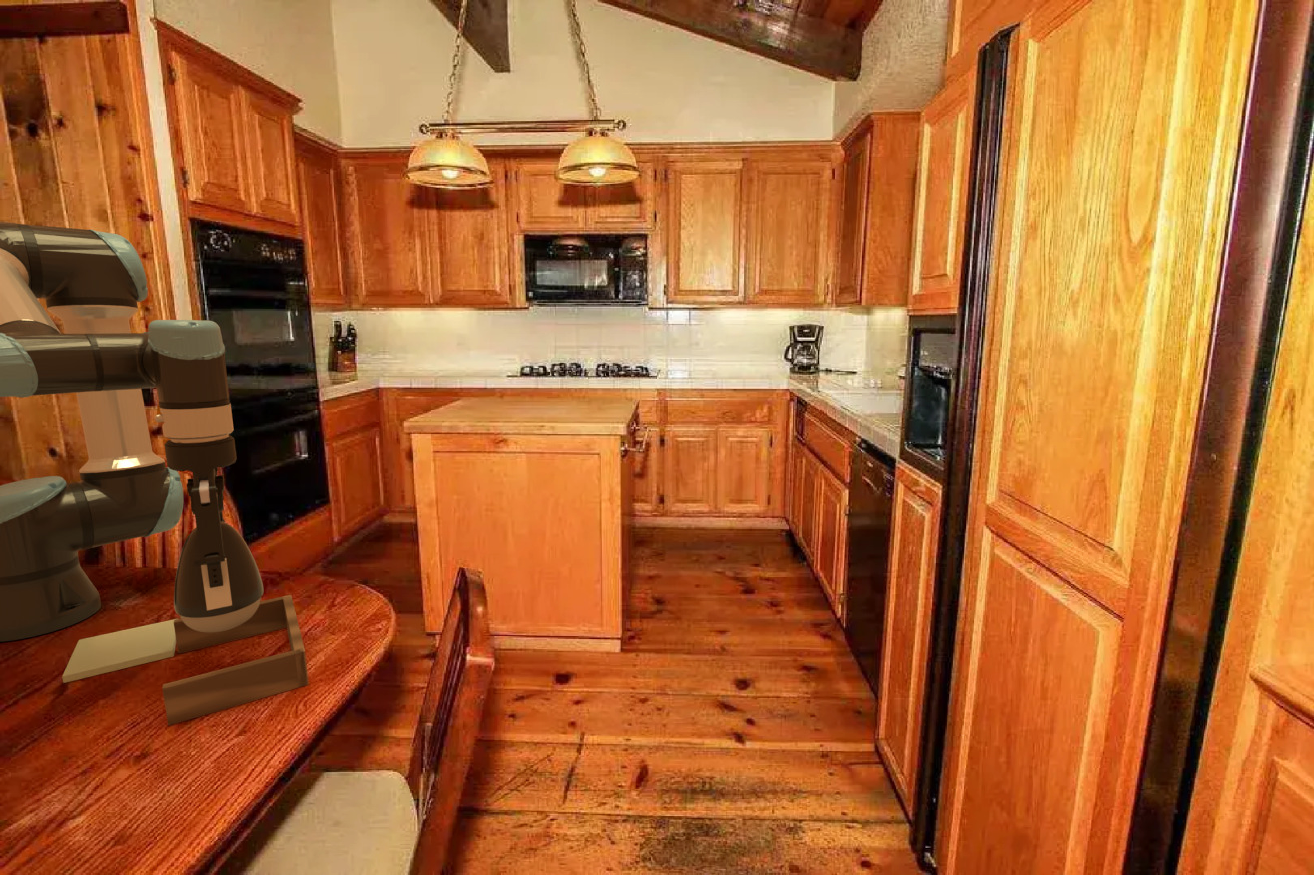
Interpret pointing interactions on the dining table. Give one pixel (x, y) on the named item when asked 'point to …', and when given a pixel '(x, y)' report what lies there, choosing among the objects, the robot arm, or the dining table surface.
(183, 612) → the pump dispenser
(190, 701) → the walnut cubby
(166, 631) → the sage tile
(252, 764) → the dining table surface
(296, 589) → the dining table surface
